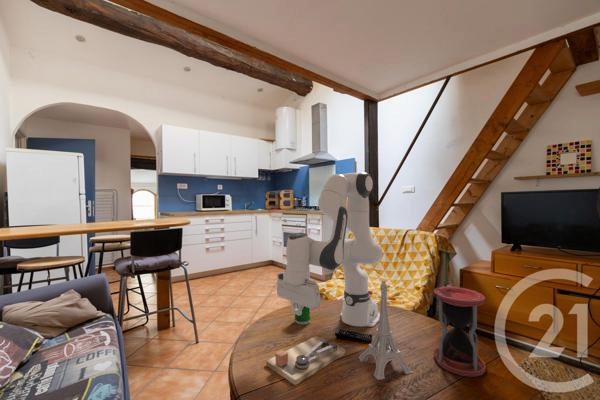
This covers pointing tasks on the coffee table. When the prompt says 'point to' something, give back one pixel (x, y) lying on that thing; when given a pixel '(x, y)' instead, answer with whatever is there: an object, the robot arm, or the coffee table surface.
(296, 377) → the board
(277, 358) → the salmon pink block
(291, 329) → the coffee table surface
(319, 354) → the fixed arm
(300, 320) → the soda can
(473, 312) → the hourglass
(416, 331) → the coffee table surface
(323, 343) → the tong arm
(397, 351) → the eiffel tower
